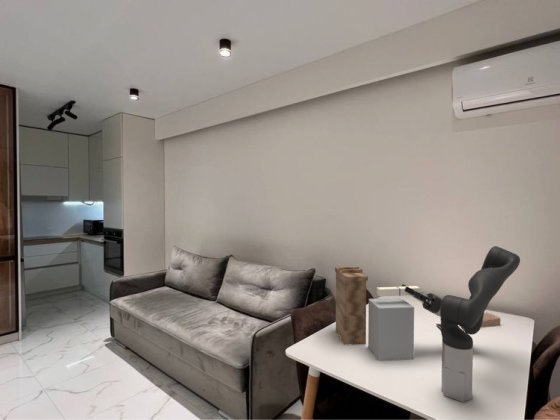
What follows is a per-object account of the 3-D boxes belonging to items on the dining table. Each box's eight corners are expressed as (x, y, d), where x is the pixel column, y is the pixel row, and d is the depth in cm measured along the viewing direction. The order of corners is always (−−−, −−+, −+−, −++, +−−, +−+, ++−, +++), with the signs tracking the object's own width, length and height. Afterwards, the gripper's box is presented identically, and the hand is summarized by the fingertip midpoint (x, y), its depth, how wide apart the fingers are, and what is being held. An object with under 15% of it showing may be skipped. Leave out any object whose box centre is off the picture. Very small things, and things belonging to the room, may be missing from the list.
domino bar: (416, 292, 137) (416, 285, 137) (420, 295, 134) (420, 287, 134) (376, 294, 136) (376, 287, 136) (379, 296, 133) (379, 289, 132)
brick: (474, 328, 160) (474, 319, 160) (462, 322, 169) (462, 314, 168) (501, 326, 164) (501, 317, 163) (487, 320, 172) (488, 311, 172)
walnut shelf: (353, 327, 162) (353, 263, 161) (367, 345, 142) (367, 273, 141) (334, 328, 161) (334, 264, 160) (346, 346, 141) (346, 273, 140)
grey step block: (400, 345, 142) (400, 297, 141) (413, 359, 130) (414, 307, 129) (368, 347, 141) (368, 298, 140) (378, 360, 129) (379, 308, 128)
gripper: (431, 293, 143) (400, 275, 142) (450, 303, 129) (416, 284, 128) (423, 307, 143) (392, 290, 142) (442, 319, 129) (407, 300, 128)
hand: (403, 287), depth 135 cm, fingers closed on domino bar, 3 cm apart
